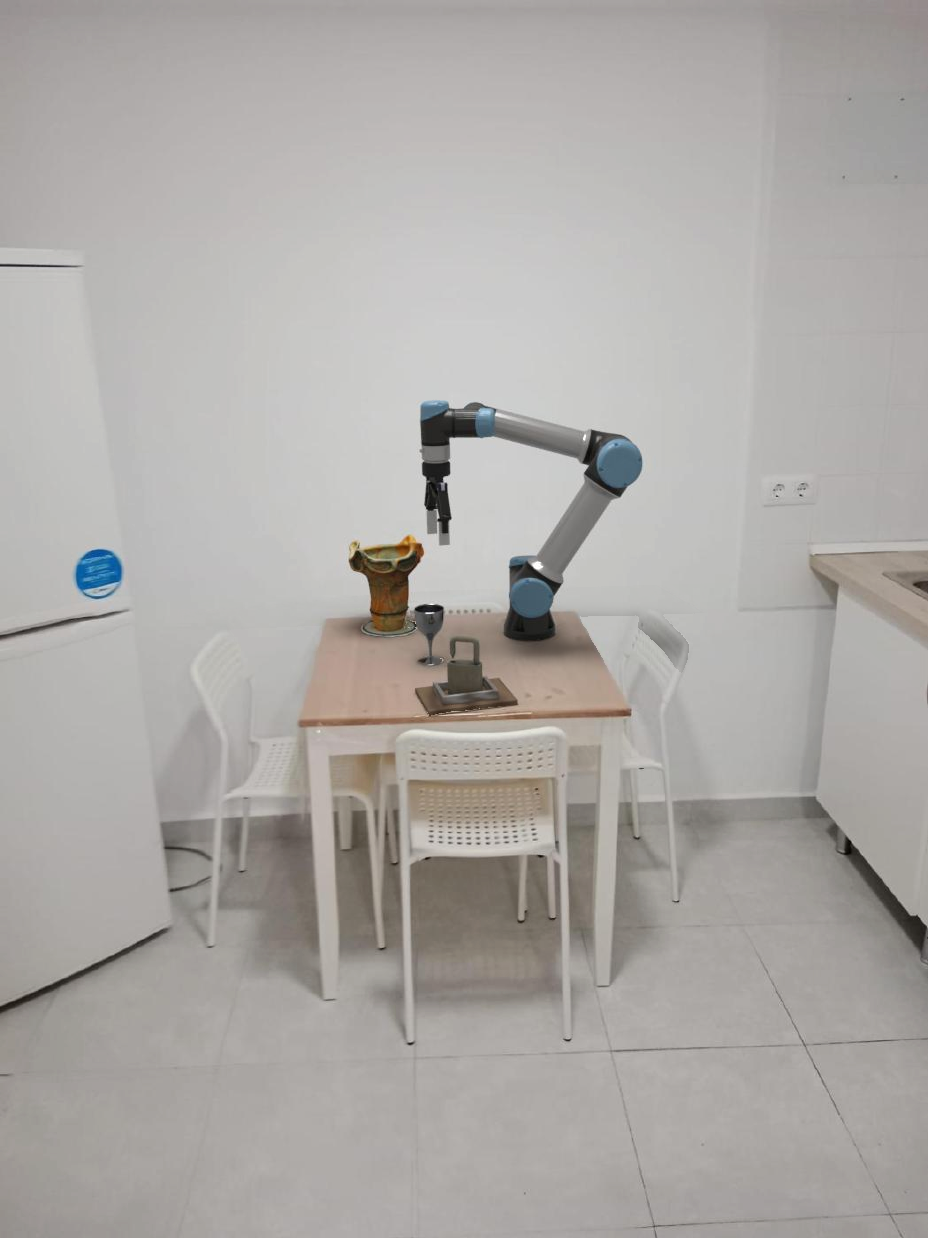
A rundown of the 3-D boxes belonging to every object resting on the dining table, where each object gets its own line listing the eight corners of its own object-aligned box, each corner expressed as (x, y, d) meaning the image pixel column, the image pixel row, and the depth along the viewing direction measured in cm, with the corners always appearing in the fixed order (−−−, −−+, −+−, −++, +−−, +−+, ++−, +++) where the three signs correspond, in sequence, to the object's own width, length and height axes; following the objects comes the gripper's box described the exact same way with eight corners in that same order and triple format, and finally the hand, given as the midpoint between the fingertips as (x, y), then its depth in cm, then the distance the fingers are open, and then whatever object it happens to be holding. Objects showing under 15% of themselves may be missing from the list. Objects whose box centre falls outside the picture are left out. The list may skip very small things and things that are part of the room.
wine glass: (441, 666, 252) (440, 613, 248) (413, 665, 254) (411, 612, 249) (448, 656, 260) (446, 604, 255) (420, 654, 261) (418, 603, 257)
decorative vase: (339, 622, 288) (339, 532, 280) (410, 615, 297) (411, 528, 289) (360, 643, 270) (360, 548, 262) (435, 635, 279) (437, 542, 271)
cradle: (498, 682, 241) (498, 670, 240) (517, 704, 228) (517, 692, 227) (415, 692, 236) (414, 680, 235) (429, 716, 222) (428, 703, 221)
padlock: (451, 689, 234) (450, 632, 229) (483, 692, 232) (482, 634, 227) (447, 695, 231) (445, 637, 226) (479, 698, 228) (478, 640, 224)
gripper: (411, 454, 259) (414, 530, 266) (433, 468, 236) (435, 551, 243) (438, 453, 261) (440, 528, 268) (462, 467, 238) (463, 548, 245)
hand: (438, 539), depth 255 cm, fingers open, 13 cm apart
